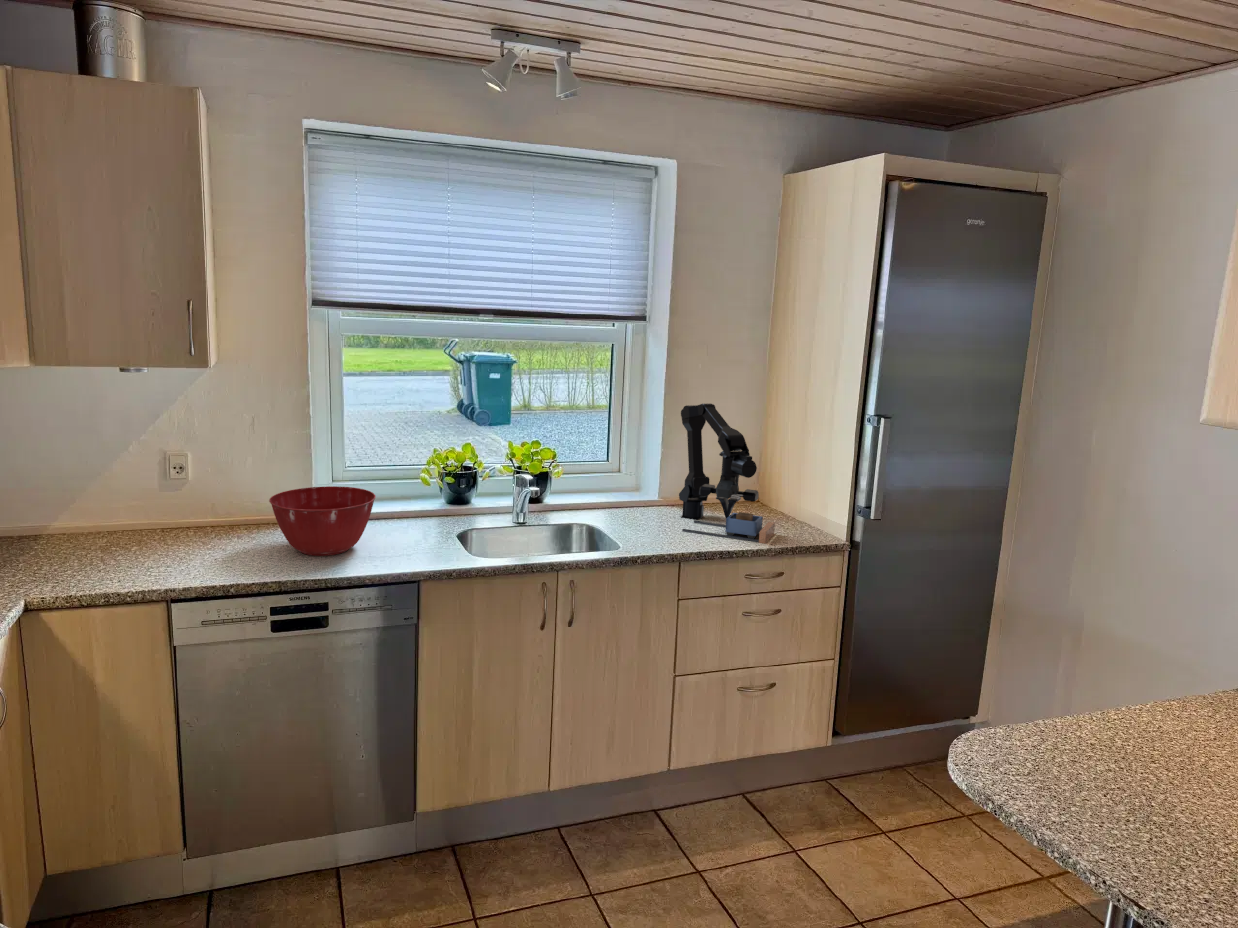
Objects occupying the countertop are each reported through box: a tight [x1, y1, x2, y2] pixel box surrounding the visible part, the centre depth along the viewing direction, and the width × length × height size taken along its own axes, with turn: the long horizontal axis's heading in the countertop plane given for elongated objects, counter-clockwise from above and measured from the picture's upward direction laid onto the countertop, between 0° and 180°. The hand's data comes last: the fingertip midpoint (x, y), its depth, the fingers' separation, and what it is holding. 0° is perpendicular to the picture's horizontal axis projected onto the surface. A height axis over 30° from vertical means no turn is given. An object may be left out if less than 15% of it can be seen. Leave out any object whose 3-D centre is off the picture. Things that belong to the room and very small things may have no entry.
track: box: [681, 520, 776, 544], centre depth 286 cm, size 28×14×4 cm, turn 68°
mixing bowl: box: [268, 485, 377, 557], centre depth 246 cm, size 28×28×15 cm
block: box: [736, 511, 754, 521], centre depth 284 cm, size 4×4×4 cm
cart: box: [724, 512, 763, 539], centre depth 284 cm, size 10×9×6 cm
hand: (726, 518), depth 286 cm, fingers closed
